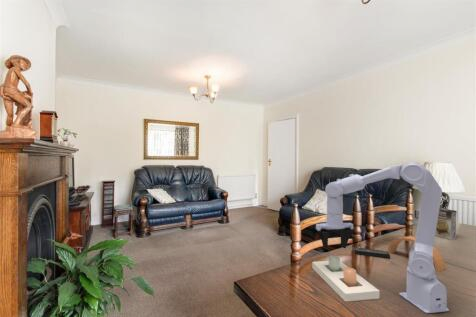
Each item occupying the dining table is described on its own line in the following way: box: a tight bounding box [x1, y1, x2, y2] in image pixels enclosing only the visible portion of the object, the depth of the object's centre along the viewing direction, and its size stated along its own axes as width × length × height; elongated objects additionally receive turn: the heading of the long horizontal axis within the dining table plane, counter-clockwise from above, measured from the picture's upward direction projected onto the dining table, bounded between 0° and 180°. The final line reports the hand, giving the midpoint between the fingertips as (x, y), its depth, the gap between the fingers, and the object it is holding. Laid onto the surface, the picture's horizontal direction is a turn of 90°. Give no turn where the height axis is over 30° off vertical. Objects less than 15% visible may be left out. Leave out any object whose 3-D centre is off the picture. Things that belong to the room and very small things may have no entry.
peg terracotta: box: [343, 266, 357, 287], centre depth 78 cm, size 4×4×6 cm
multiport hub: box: [352, 246, 391, 260], centre depth 106 cm, size 4×14×2 cm, turn 71°
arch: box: [387, 235, 446, 273], centre depth 101 cm, size 6×20×10 cm, turn 24°
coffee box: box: [435, 207, 458, 241], centre depth 132 cm, size 9×6×16 cm
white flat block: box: [311, 260, 380, 303], centre depth 83 cm, size 22×12×2 cm, turn 9°
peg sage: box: [328, 255, 341, 272], centre depth 88 cm, size 4×4×6 cm
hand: (334, 247), depth 88 cm, fingers open, 7 cm apart
